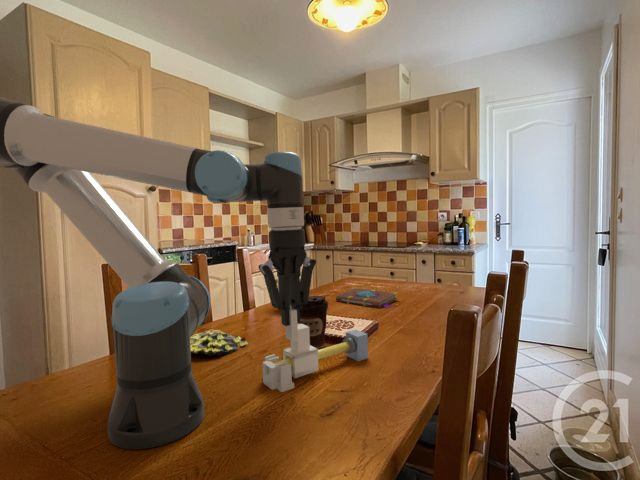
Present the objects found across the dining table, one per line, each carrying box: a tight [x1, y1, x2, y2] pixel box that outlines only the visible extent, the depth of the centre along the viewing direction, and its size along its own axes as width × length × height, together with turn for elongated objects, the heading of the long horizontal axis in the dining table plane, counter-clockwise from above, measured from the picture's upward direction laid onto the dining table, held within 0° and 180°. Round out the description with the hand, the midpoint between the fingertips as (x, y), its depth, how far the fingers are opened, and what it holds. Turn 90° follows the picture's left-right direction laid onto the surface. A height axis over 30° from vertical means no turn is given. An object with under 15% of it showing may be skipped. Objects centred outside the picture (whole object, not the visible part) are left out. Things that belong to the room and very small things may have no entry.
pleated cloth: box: [190, 328, 249, 357], centre depth 99 cm, size 20×16×6 cm
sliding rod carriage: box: [282, 323, 319, 379], centre depth 79 cm, size 6×5×10 cm
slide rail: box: [262, 329, 369, 393], centre depth 82 cm, size 26×8×6 cm, turn 125°
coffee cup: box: [298, 295, 329, 349], centre depth 97 cm, size 9×8×13 cm
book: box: [335, 287, 399, 309], centre depth 144 cm, size 16×25×5 cm, turn 51°
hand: (291, 339), depth 78 cm, fingers closed
